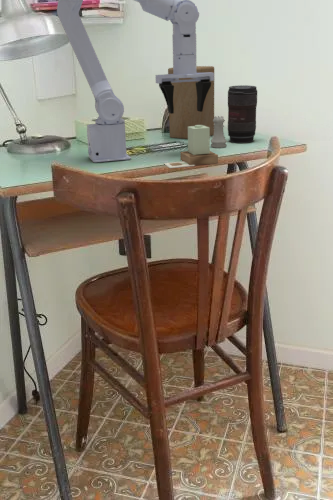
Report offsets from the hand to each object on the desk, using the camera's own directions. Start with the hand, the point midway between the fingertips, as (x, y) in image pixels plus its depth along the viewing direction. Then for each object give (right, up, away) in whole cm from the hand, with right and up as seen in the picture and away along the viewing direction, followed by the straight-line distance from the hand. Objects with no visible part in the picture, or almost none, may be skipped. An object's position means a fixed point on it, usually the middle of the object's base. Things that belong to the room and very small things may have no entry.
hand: (185, 112), depth 135 cm
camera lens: (+17, -4, +18) cm, 25 cm away
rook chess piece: (+9, -7, +11) cm, 16 cm away
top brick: (+3, -11, -7) cm, 14 cm away
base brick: (+3, -14, -6) cm, 15 cm away
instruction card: (-2, -15, -9) cm, 17 cm away
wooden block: (+3, -1, +28) cm, 28 cm away
